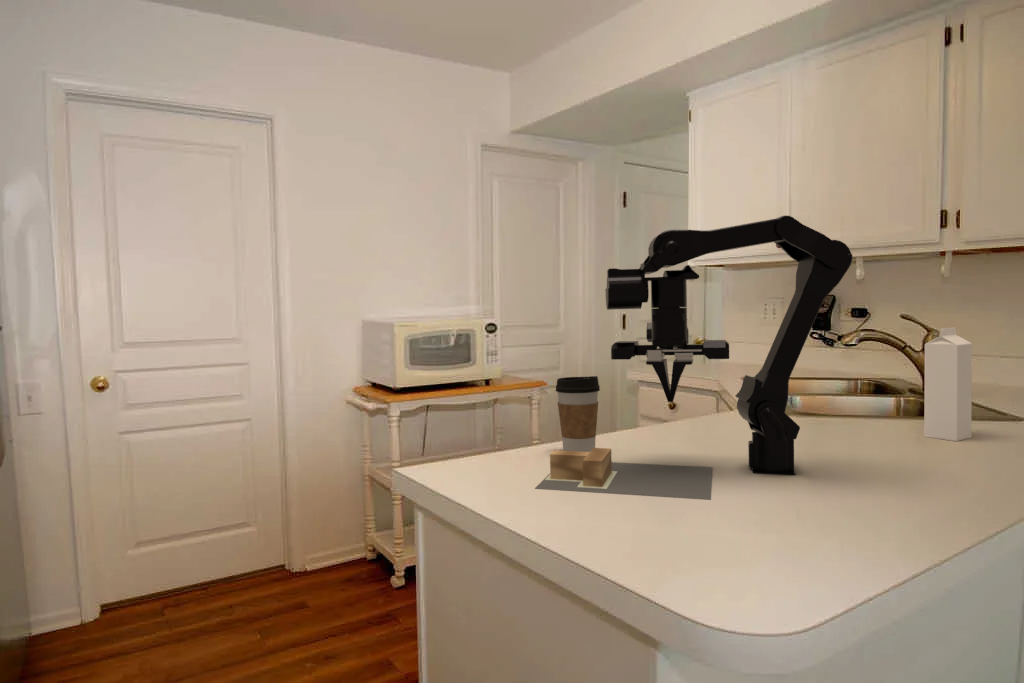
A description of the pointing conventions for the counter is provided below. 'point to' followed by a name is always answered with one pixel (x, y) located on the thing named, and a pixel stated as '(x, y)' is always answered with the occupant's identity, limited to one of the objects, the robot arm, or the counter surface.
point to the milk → (948, 387)
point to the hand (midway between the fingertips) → (670, 401)
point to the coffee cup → (578, 412)
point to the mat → (645, 481)
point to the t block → (582, 466)
